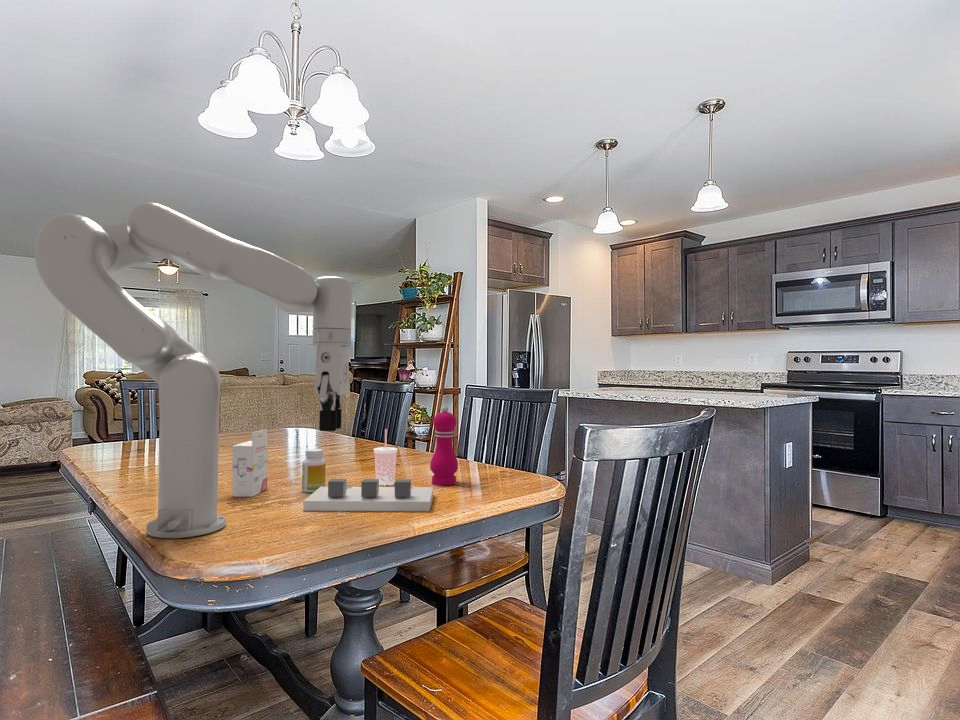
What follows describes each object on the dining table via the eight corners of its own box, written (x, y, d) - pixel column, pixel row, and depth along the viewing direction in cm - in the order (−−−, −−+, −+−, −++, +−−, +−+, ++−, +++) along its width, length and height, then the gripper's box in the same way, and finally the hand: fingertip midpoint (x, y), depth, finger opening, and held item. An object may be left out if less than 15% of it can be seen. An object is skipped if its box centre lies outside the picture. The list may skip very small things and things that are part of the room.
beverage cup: (390, 487, 136) (391, 430, 137) (368, 485, 138) (369, 429, 138) (401, 482, 142) (401, 428, 142) (379, 480, 144) (380, 427, 144)
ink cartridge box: (247, 488, 133) (248, 427, 133) (267, 489, 132) (269, 428, 133) (230, 497, 124) (231, 431, 124) (252, 497, 124) (253, 432, 124)
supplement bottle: (329, 489, 133) (330, 449, 133) (313, 493, 128) (314, 452, 128) (313, 487, 135) (314, 447, 135) (296, 491, 130) (297, 450, 131)
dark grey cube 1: (343, 496, 116) (343, 481, 116) (327, 496, 115) (328, 481, 115) (346, 493, 119) (346, 478, 119) (331, 493, 118) (331, 478, 118)
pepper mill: (462, 482, 143) (463, 405, 144) (449, 487, 137) (451, 407, 137) (438, 479, 146) (439, 404, 147) (424, 484, 140) (425, 406, 140)
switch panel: (429, 511, 114) (429, 501, 114) (303, 510, 113) (303, 500, 113) (433, 495, 128) (433, 486, 128) (320, 495, 127) (320, 486, 127)
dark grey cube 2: (376, 497, 116) (376, 481, 116) (361, 497, 116) (361, 481, 116) (378, 493, 119) (378, 479, 119) (363, 493, 119) (364, 478, 119)
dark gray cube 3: (409, 497, 116) (409, 482, 116) (394, 497, 116) (394, 482, 116) (411, 494, 119) (411, 479, 119) (396, 493, 119) (396, 479, 119)
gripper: (341, 336, 102) (340, 434, 102) (358, 341, 119) (357, 425, 119) (301, 335, 102) (299, 434, 102) (323, 340, 119) (322, 425, 118)
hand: (330, 428), depth 110 cm, fingers open, 3 cm apart
